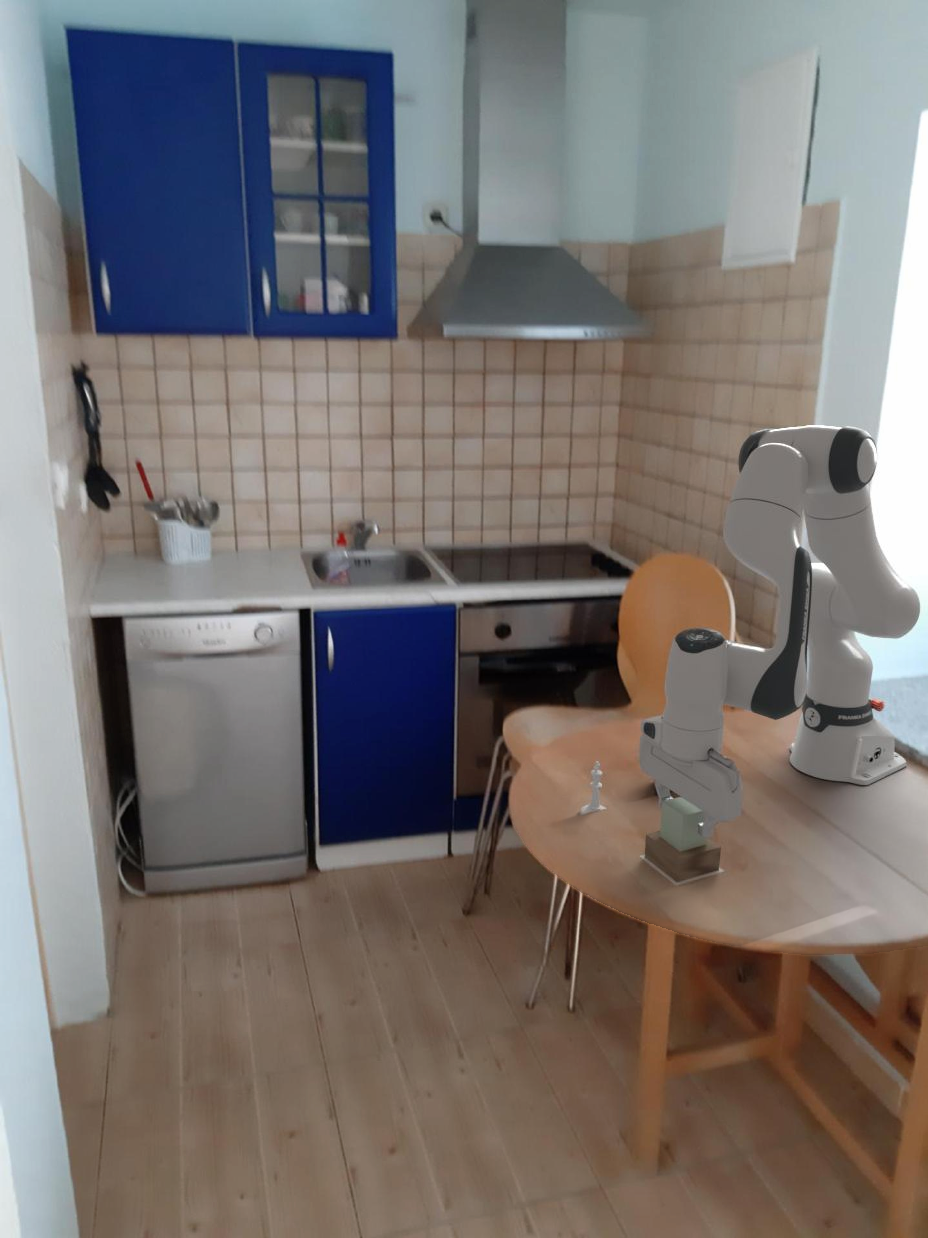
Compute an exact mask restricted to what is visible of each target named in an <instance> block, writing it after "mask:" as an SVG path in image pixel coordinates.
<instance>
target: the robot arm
mask: <svg viewBox="0 0 928 1238" xmlns="http://www.w3.org/2000/svg"><path fill="white" fill-rule="evenodd" d="M877 450H878V449H877V445H876V442H875V440H874V438H873V437H872V436H871V434H870V433H868V431H867V430H865V429H862V428H858V427H855V426H850V425H849V426H848V425H845V426H842V427H838V426H828V425H805V426H796V427H795V426H794V427H792V426H791V427H786V428H779V429H775V428H771V427H770V428H764V429H760V430H757V431H755V432H752V433H751V434H750V435H749V436H748V437H747V438H746V440H745V441H744V442H743V443H742V445H741V447H740V449H739V454H738V462H737V464H738V465H737V466H738V471H739V476H738V478H737V480H736V483H735V486H734V488H733V490H732V493H731V497H730V500H729V504H728V507H727V510H726V514H725V516H724V522H723V531H722V535H723V541H724V544H725V546H726V548H727V549H728V551H729V553H730V554H731V555H732V556H733V557H734V558H735V559H736V560H737V561H738V562H739V563H741V564H742V565H743V566H745V567H746V568H748V569H749V570H751V571H753V572H755V573H756V574H758V575H760V576H761V577H763V578H765V579H767V580H768V581H770V582H771V583H772V584H773V585H774V586H776V588H777V591H778V593H779V594H778V595H779V604H778V613H777V614H778V615H777V616H778V617H777V625H776V635H775V636H776V639H775V644H774V646H773V647H771V648H765V647H760V646H754V645H750V644H749V645H748V644H744V643H739V642H737V641H733V640H728V639H726V637H725V636H724V635H723V633H721V632H719V631H717V630H715V629H712V628H708V627H707V628H706V627H694V628H693V627H692V628H688V629H684V630H682V631H680V632H678V634H676V635H675V636H674V637H673V640H672V644H671V646H670V650H669V655H668V659H667V664H666V671H665V680H664V694H665V698H666V699H665V700H666V704H665V708H664V709H663V713H662V715H657V716H656V715H655V716H652V717H649V718H646V719H642V720H641V721H640V731H641V733H642V734H641V735H640V739H639V746H638V747H639V748H638V764H639V767H640V769H641V772H643V773H645V774H646V775H647V776H649V777H650V778H652V779H653V780H654V781H655V787H656V790H657V793H658V795H657V796H658V807H660V808H661V809H662V801H667V800H671V799H675V798H673V796H672V795H671V793H670V790H672V791H673V792H672V793H675V794H677V795H678V796H679V797H682V798H684V799H685V800H687V801H688V802H690V803H691V804H693V805H694V806H696V807H697V808H699V809H700V810H702V811H703V812H704V818H706V820H705V821H704V823H699V824H698V833H699V834H700V835H701V836H703V837H704V838H711V837H712V836H713V835H714V830H715V826H716V824H717V823H726V822H727V823H728V822H730V821H734V820H736V819H738V818H739V817H740V816H742V815H741V814H742V809H743V785H742V778H741V774H740V771H739V770H738V768H737V767H736V765H735V762H734V761H733V759H731V758H730V757H726V756H725V755H723V754H722V747H723V735H724V725H725V718H724V713H723V706H724V705H725V706H729V707H734V708H738V709H740V710H746V711H750V712H752V713H754V714H757V715H759V716H763V717H766V718H768V719H771V720H775V721H777V720H781V719H784V718H785V717H788V716H790V715H791V714H793V713H795V712H796V711H798V710H799V709H801V712H802V713H801V714H800V716H799V721H798V725H797V729H796V732H795V737H794V738H795V739H794V742H792V743H790V747H789V749H790V751H791V754H790V756H789V758H788V760H789V762H790V764H791V765H792V766H793V768H794V769H796V770H798V771H800V772H802V773H803V774H805V775H808V776H810V777H814V778H817V779H822V780H826V781H833V782H846V783H852V784H855V785H861V786H869V785H871V784H873V783H875V782H877V781H879V780H881V779H884V777H887V776H888V775H892V774H893V773H895V772H897V771H899V770H901V769H904V768H905V767H906V766H907V761H906V759H905V758H904V757H903V756H902V755H901V754H899V753H898V752H895V744H896V742H895V737H894V734H893V733H892V732H891V731H890V730H889V728H887V727H885V726H884V725H883V724H882V723H880V721H879V720H878V719H876V718H875V717H874V713H873V710H875V711H877V712H882V711H883V709H885V703H884V701H882V700H878V699H877V698H872V699H870V691H871V684H872V677H873V670H874V666H873V661H872V659H871V656H870V655H869V654H868V651H866V650H865V649H864V647H862V645H861V644H860V642H859V641H858V639H857V637H856V633H857V634H860V635H864V636H868V637H870V638H871V637H872V638H879V639H880V638H881V639H895V640H896V639H897V640H898V639H901V638H903V637H905V636H906V635H907V634H908V633H909V632H911V631H912V630H913V629H914V628H915V626H916V625H917V623H918V620H919V619H920V618H919V617H920V614H921V601H920V598H919V595H918V593H917V591H916V590H915V589H914V588H913V587H911V586H910V585H909V584H908V583H906V582H905V581H904V580H903V578H902V577H900V575H899V574H898V573H897V572H896V570H894V567H892V565H891V564H890V561H889V560H888V558H887V556H886V555H885V553H884V552H883V549H882V548H881V545H880V543H879V540H878V537H877V532H876V527H875V521H874V515H873V508H872V499H871V494H870V488H869V487H870V486H869V483H871V481H872V479H873V477H874V475H875V473H876V469H877V465H878V462H877V461H878V451H877ZM802 515H804V521H805V529H806V534H807V542H808V546H809V549H810V551H811V553H812V554H813V555H814V557H815V558H816V559H817V560H818V561H819V562H812V559H811V556H810V555H811V554H809V552H808V551H807V550H806V549H805V548H803V547H802V546H801V545H802V544H801V542H800V538H799V536H800V535H799V527H800V524H801V519H802ZM669 789H670V790H669Z"/></svg>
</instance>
